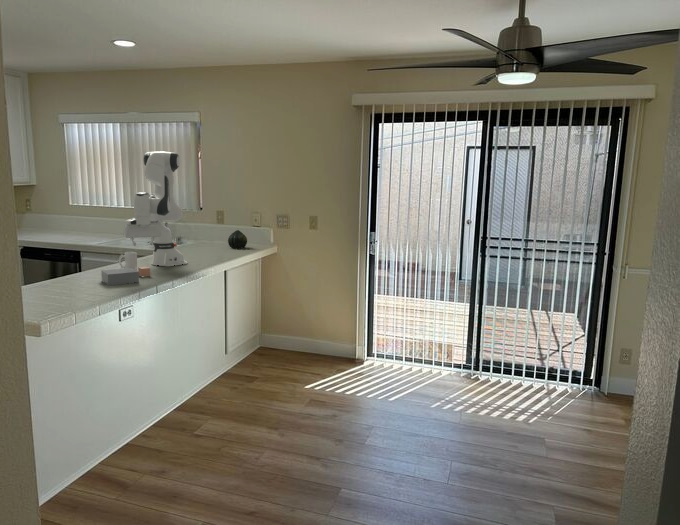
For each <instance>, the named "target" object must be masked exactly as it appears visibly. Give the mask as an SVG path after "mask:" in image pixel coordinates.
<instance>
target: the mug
mask: <svg viewBox="0 0 680 525" xmlns="http://www.w3.org/2000/svg"><path fill="white" fill-rule="evenodd" d="M137 252H138V251H137ZM137 252H136V251H125V252H124V254H120V256H119V258H118V264H119V266H120V269H124V268H133V269H135V270H136V271H138V253H137ZM122 258H124V265H123V264H122V261H121V260H122Z"/></svg>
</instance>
